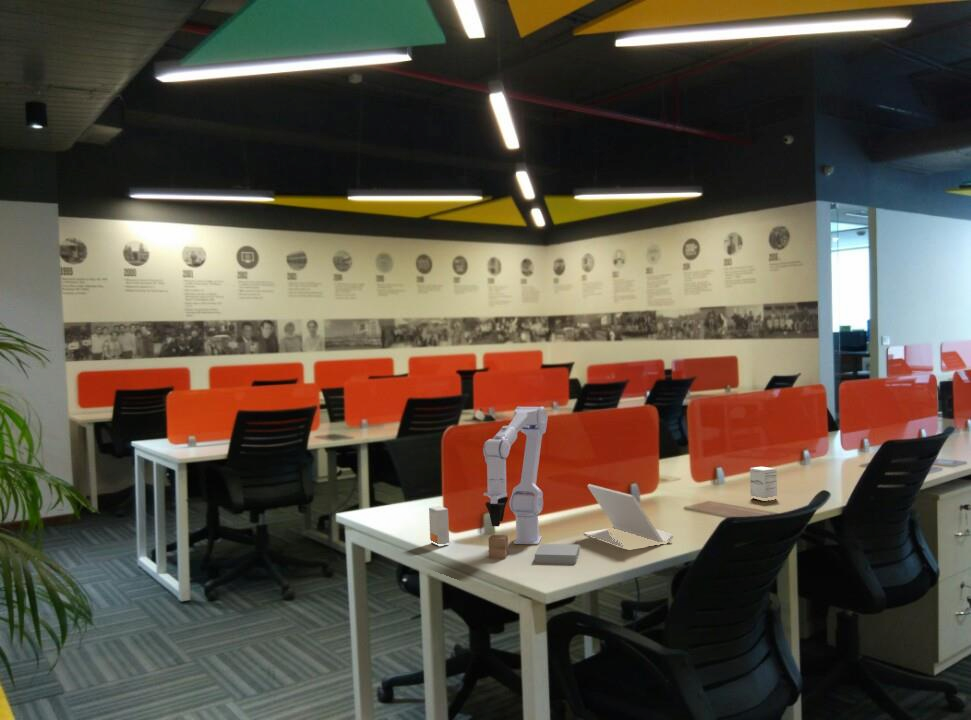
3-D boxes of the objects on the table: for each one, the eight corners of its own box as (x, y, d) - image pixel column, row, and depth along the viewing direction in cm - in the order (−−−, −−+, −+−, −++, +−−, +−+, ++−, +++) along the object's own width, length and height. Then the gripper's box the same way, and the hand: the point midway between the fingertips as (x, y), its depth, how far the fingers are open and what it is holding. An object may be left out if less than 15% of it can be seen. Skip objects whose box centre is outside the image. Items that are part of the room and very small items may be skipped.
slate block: (540, 553, 236) (540, 543, 236) (579, 554, 233) (579, 544, 233) (535, 564, 224) (534, 554, 224) (576, 565, 221) (575, 555, 221)
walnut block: (492, 554, 235) (491, 534, 235) (508, 554, 234) (507, 535, 234) (489, 558, 231) (488, 538, 230) (505, 558, 229) (504, 539, 229)
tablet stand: (628, 551, 233) (626, 496, 233) (582, 535, 256) (581, 484, 256) (674, 543, 241) (673, 489, 241) (626, 528, 264) (625, 478, 264)
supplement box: (749, 499, 303) (748, 467, 303) (763, 497, 307) (762, 465, 306) (764, 502, 297) (763, 470, 296) (778, 500, 300) (777, 468, 300)
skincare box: (429, 543, 250) (428, 507, 250) (441, 541, 252) (440, 505, 252) (438, 547, 245) (436, 510, 245) (449, 545, 247) (448, 508, 247)
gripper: (487, 475, 240) (487, 518, 239) (480, 482, 225) (480, 528, 225) (509, 475, 238) (510, 519, 238) (503, 482, 224) (504, 528, 224)
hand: (497, 523), depth 232 cm, fingers open, 7 cm apart
